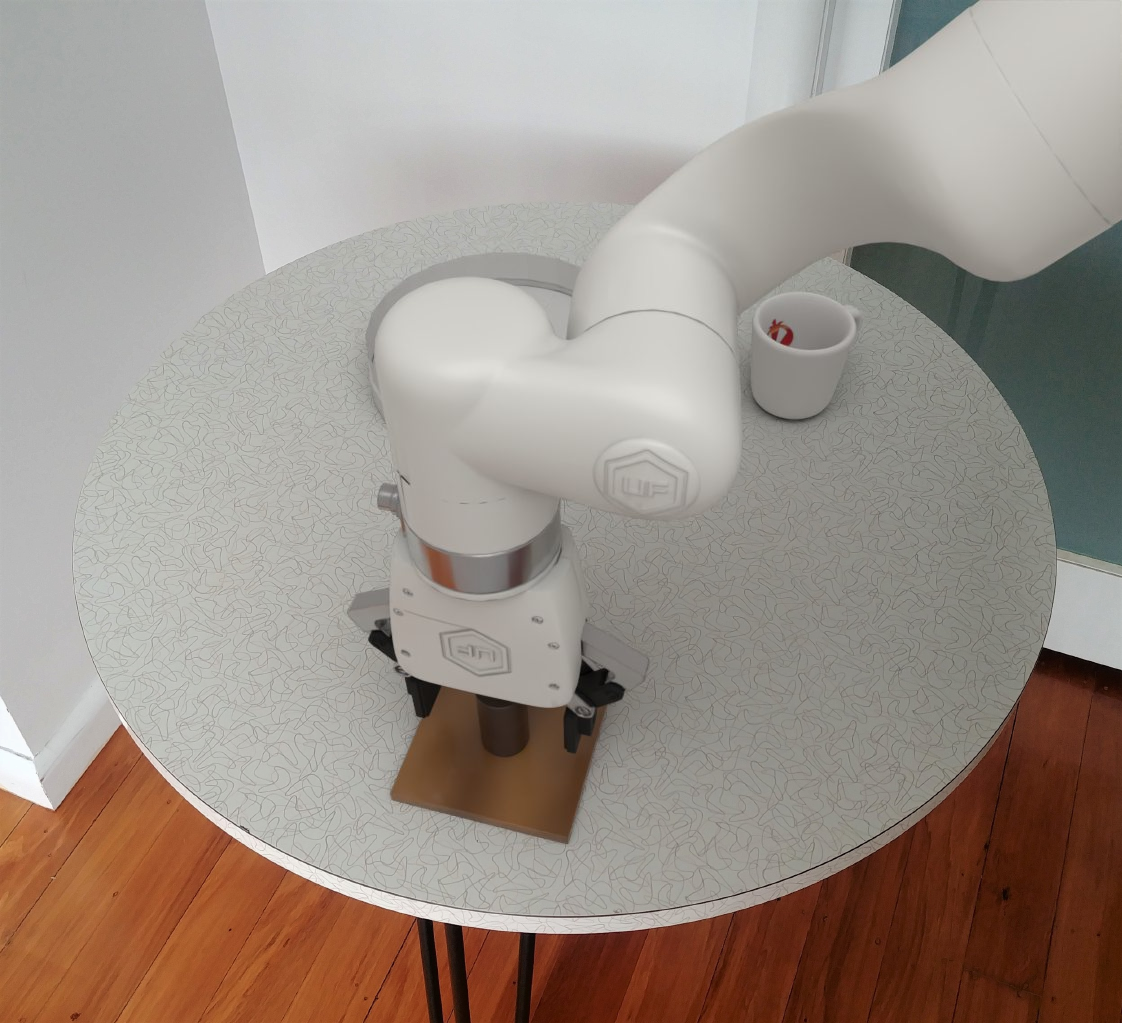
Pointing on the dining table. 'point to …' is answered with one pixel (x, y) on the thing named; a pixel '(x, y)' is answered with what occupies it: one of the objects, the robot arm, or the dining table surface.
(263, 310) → the dining table surface
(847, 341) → the cup
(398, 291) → the dish
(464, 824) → the dining table surface
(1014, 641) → the dining table surface
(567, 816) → the square peg stand
